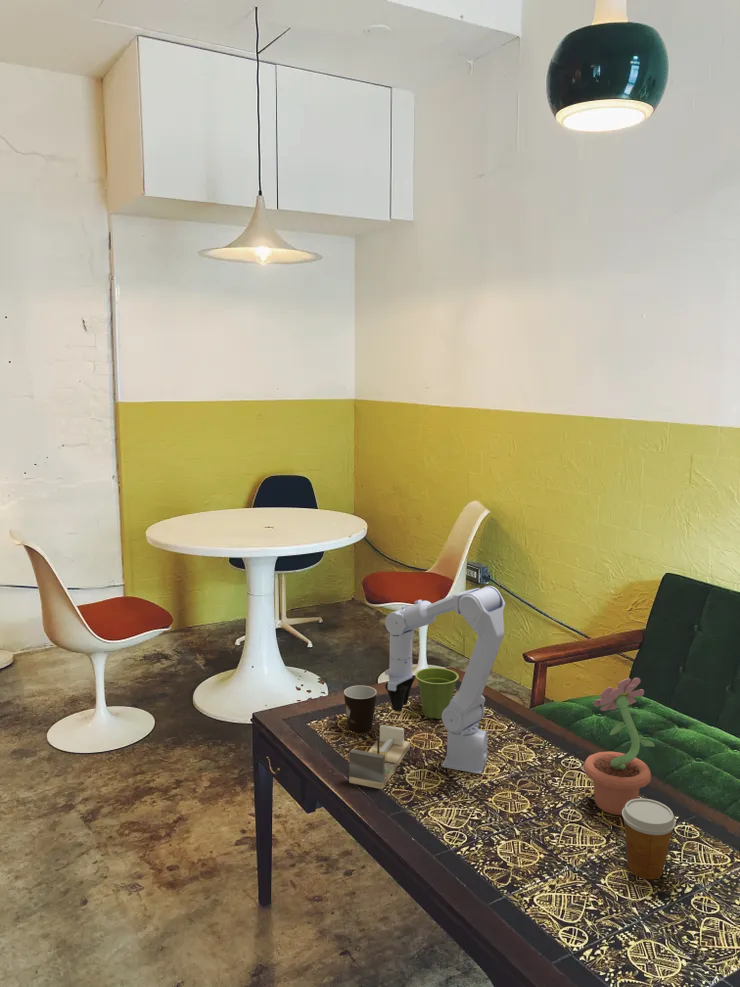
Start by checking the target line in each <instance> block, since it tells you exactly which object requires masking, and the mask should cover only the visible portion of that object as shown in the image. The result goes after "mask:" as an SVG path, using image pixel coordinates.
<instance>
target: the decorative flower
mask: <svg viewBox="0 0 740 987" xmlns="http://www.w3.org/2000/svg"><path fill="white" fill-rule="evenodd" d="M641 682H642V681H641V679H640V677H634V678H633V679H631V678H625V679H623V680H621V681H619V682H618V683H617V688H615V689H614V688H613V687H611V686H609V687H606V688H605V689H604V690H603V691H601V694H600V695H599V697H600V699H599V698H597V699H595V700H594V701H593V706H594V707H595V708H597V707H600V708H599V710H600V711H603V712H606V711H612V710H616V709H619V710H620V715H621V716H622V720H623V721H621V722H619V723H618V724H617V725H615V726H614V727H613V728H612V730H610V733H609V736H612V735H616V734H617V733H619V732H620V731H622V730H623V728H624V725H625V727H626V729H627V732H628V734H629V737H630V742H631V744H630V748H629V751H628V752H626V753H623V752H618V751H617V752H616V751H598V752H596V753H593V754H590V755H588V756H587V758H586V760H585V761H584V765H583V771H584V774H585V775H586V777H588V778H589V780H591V781H592V782H593V795H594V796H593V797H594V798H593V799H594V803H595V804H596V806H597V807H598V808H599V809H600V810H601V811H603V812H605V813H607V814H611V815H615V816H622V810H623V808H624V807H625V804H626V803H627V802H628V801H630V800H632V799H638V798H639V796H640V789H641V788H644V787H647V785H649V783H650V782H651V780H652V774H651V770H650V768H649V766H648V764H646V763H645V762H644V761H643V760H641V759H639V758H638V757H637V756H638V754H639V751H640V746H641V745H642V746H644V747H650V748H651V747H655V746H656V745H655V743H654V742H653V741H652V740H648V739H640V735H639V733H638V730H637V728H636V725H635V723H634V720H633V717H632V714H631V713H630V709H629V705H634V703H637V699H636V697H640V698H641V697H643V696H644V694H645V690H644V689H642V688H641V689H636V688H637V687H638V685H639V684H641ZM635 689H636V690H635Z"/></svg>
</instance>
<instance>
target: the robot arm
mask: <svg viewBox="0 0 740 987" xmlns="http://www.w3.org/2000/svg"><path fill="white" fill-rule="evenodd" d="M505 607H506V602H505V600H504V597H503V595H502V594H501V593H500V590H499V589H497V588H496V587H494V586H493V585H485V586H484V587H482V588H480V587H477V588H472V589H467V590H464V591H460V592H458V593H454V594H452V595H450V596H447V597H445V598H443V599H440V600H437V601H436V602H435V601H434V602H433V603H432V602H430V601H429V600H422V599H417V600H415V601H414V604H412V605H409V606H408V605H404V606H401V608H400V609H399V610H398V609H397V610H395V611H391V612H390V613H389V614H387V615H386V617H385V620H384V625H385V628H386V630H387V632H388V633H389V667H388V669H386V670H385V671H384V675H386V676H388V681H387V682H386V683H385V684H384V685H385V690H386V691H387V694H388V696H389V698H390V703H391V706H392V710H393V711H395V712H402V710H403V707H404V705H407V704H408V701H409V698H410V692H411V688H412V686H413V683H414V682H415V680H416V677H415V675H414V673H413V672H414V670H413V667H414V666H413V665H414V663H413V637H414V636H415V630H416V629H419V628H422V627H425V626H427V625H430V624H433V623H434V622H435V621H436V619H437V616H440V615H442V614H446V613H449V612H452V611H454V612H455V613H456V615H461V616H462V617H463V619H464V620H465V621H466V623H467V624H468V625H469V626H470V627H471V629H472V630H473V631H474V632H475V633H476V634H477V638H476V641H475V644H474V647H473V650H472V653H471V655H470V658H469V661H468V663H467V667H466V669H465V673H464V675H463V678H462V681H461V684H460V686H459V689H458V691H457V692H456V693H455V694H454V695H453V697H452V699H451V701H450V703H449V705H448V707H446V708H445V709H444V710H443V712H442V719H441V721H442V724H443V726H444V727H445V729H446V731H447V738H446V740H447V744H446V745H447V746H446V748H447V749H446V756H445V759H444V761H443V762H442V764H441V768H444V769H445V768H446V769H449V770H456V771H459V772H460V771H462V772H467V773H472V774H478V775H481V774H482V773H483V771H484V769H485V766H486V764H487V761H488V737H489V736H488V731H486V730H483V729H481V728H479V726H480V721H481V720H482V719H483V718H484V715H485V702H486V698H485V697H484V695H483V694H484V690H485V688H486V684H487V682H488V679H489V677H490V674H491V671H492V669H493V666H494V663H495V661H496V658H497V655H498V652H499V650H500V647H501V645H502V641H503V639H504V636H505V623H504V610H505Z"/></svg>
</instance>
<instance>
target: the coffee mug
mask: <svg viewBox="0 0 740 987" xmlns="http://www.w3.org/2000/svg"><path fill="white" fill-rule="evenodd" d="M377 692H378V691H377V690H376V689H375V688H374V687H371V686H369V685H352V686H348V687H347V688H346V689H344V690H343V696H344V704H345V712H346V722H347V728H348V731H349V730H350V731H349V732H351V731H352V732H351V733H353V732H355V733H354V734H360V733H361V734H367V733H370V732H371V731H372V730H373V725H374V724H373V723H374V716H375V709H376V708H375V707H376V702H377ZM366 732H367V733H366Z"/></svg>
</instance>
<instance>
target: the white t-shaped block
mask: <svg viewBox="0 0 740 987" xmlns="http://www.w3.org/2000/svg"><path fill="white" fill-rule="evenodd" d="M379 737H380V741H381V742H385V744H384V745H383V746H382V748H381V749H380V750H379V751H381V752H386V753H387V751H388V750H389V748H390V747H391V746H392V744H398V745H403V744H404V741H405V728H403V727H397V726H392V725H385V724H380V726H379Z"/></svg>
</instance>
